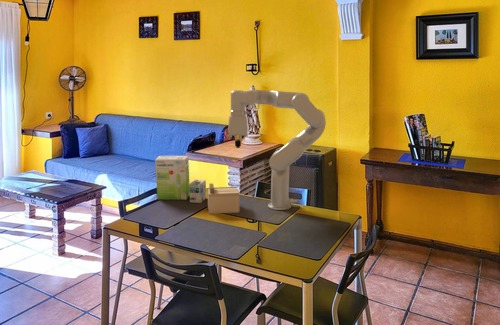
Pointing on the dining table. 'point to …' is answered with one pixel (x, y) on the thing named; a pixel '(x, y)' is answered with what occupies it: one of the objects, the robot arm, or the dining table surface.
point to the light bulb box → (197, 191)
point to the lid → (221, 190)
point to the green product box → (172, 177)
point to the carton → (223, 202)
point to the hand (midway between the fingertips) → (237, 147)
